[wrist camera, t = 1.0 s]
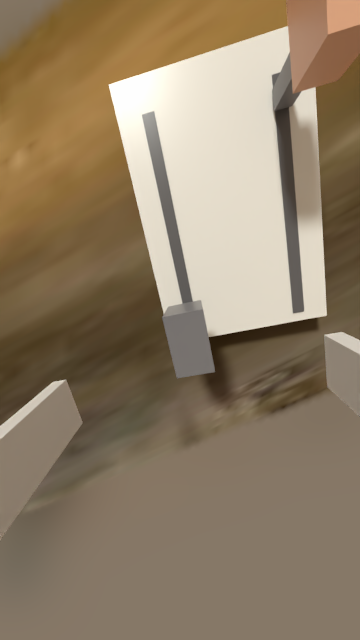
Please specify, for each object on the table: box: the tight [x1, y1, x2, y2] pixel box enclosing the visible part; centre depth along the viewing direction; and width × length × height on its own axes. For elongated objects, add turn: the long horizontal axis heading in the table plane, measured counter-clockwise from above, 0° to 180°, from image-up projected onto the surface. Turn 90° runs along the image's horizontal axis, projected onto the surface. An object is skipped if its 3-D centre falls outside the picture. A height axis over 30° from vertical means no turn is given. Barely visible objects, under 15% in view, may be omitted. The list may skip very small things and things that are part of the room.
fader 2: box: [272, 0, 360, 111], centre depth 15 cm, size 3×5×9 cm, turn 12°
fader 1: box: [162, 300, 215, 378], centre depth 20 cm, size 3×5×9 cm, turn 12°
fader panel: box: [109, 26, 327, 337], centre depth 23 cm, size 18×26×3 cm
